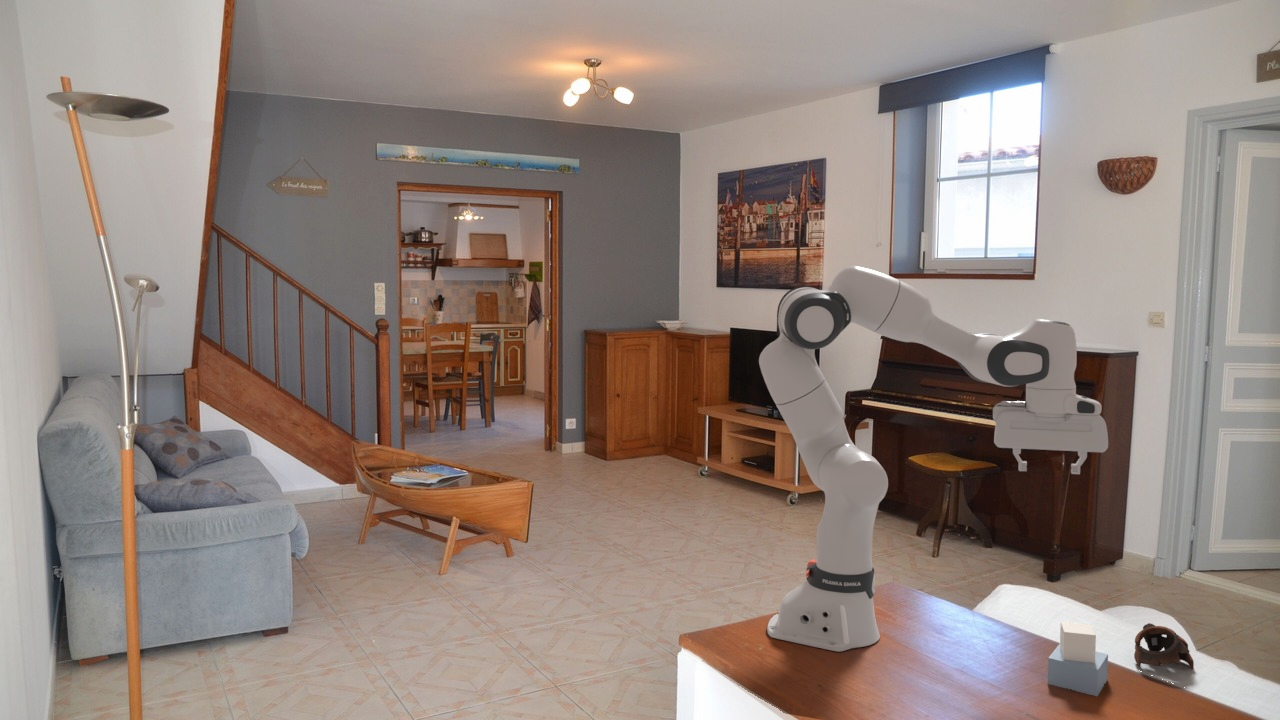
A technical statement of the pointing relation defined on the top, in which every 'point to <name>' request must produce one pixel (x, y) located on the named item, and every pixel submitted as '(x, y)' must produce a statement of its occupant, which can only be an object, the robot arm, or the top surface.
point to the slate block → (1078, 673)
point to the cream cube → (1077, 642)
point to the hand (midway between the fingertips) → (1048, 472)
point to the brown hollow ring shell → (1161, 647)
